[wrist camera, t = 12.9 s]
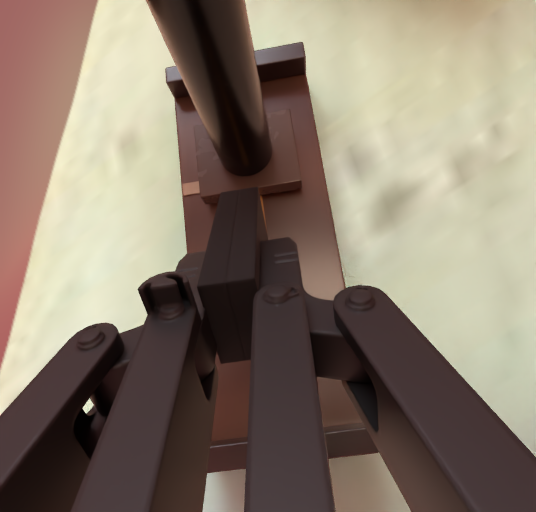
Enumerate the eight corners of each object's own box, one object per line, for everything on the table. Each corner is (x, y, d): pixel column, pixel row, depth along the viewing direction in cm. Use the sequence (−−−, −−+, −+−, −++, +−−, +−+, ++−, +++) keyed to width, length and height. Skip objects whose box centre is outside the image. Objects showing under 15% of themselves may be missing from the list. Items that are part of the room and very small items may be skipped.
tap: (302, 188, 24) (286, -92, 9) (179, 209, 25) (-27, -25, 10) (278, 45, 27) (235, -352, 12) (168, 66, 28) (-6, -289, 12)
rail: (369, 438, 23) (379, 453, 19) (213, 457, 23) (195, 474, 20) (303, 79, 29) (302, 41, 26) (182, 101, 30) (164, 67, 26)
